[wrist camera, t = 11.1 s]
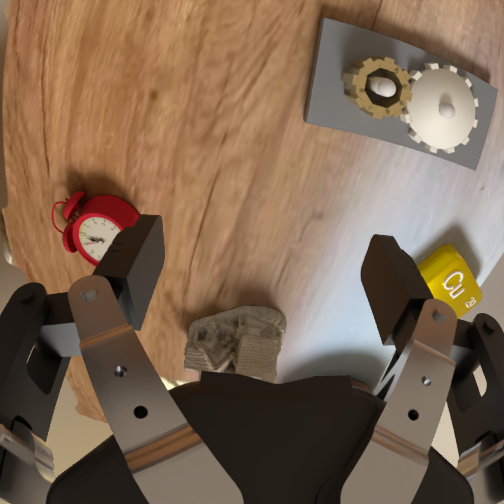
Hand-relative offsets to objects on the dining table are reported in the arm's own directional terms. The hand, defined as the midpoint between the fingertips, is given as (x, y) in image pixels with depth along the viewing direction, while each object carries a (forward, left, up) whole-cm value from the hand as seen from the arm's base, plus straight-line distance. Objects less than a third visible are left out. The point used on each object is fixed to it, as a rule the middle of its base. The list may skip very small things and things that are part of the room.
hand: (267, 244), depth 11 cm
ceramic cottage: (+35, +1, -25) cm, 43 cm away
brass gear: (-7, +11, -23) cm, 26 cm away
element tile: (+22, +33, -25) cm, 47 cm away
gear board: (-7, +17, -25) cm, 30 cm away
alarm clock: (+16, -20, -25) cm, 36 cm away
